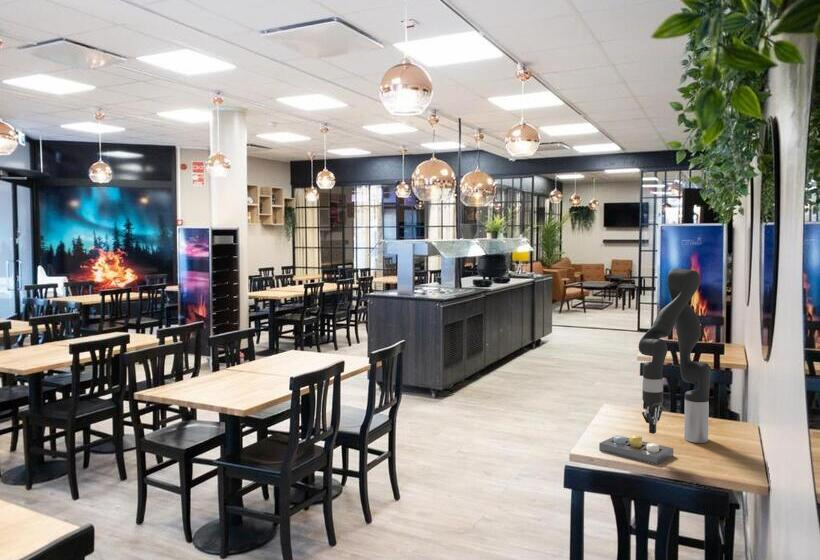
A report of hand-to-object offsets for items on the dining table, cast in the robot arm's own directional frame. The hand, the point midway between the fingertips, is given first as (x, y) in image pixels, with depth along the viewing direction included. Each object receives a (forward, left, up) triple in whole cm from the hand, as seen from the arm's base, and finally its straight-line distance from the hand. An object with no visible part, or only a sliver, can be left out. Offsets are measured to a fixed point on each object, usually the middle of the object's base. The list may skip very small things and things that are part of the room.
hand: (652, 432), depth 248 cm
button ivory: (0, 0, -9) cm, 9 cm away
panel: (0, -7, -10) cm, 12 cm away
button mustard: (0, -7, -7) cm, 10 cm away
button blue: (0, -14, -9) cm, 16 cm away
